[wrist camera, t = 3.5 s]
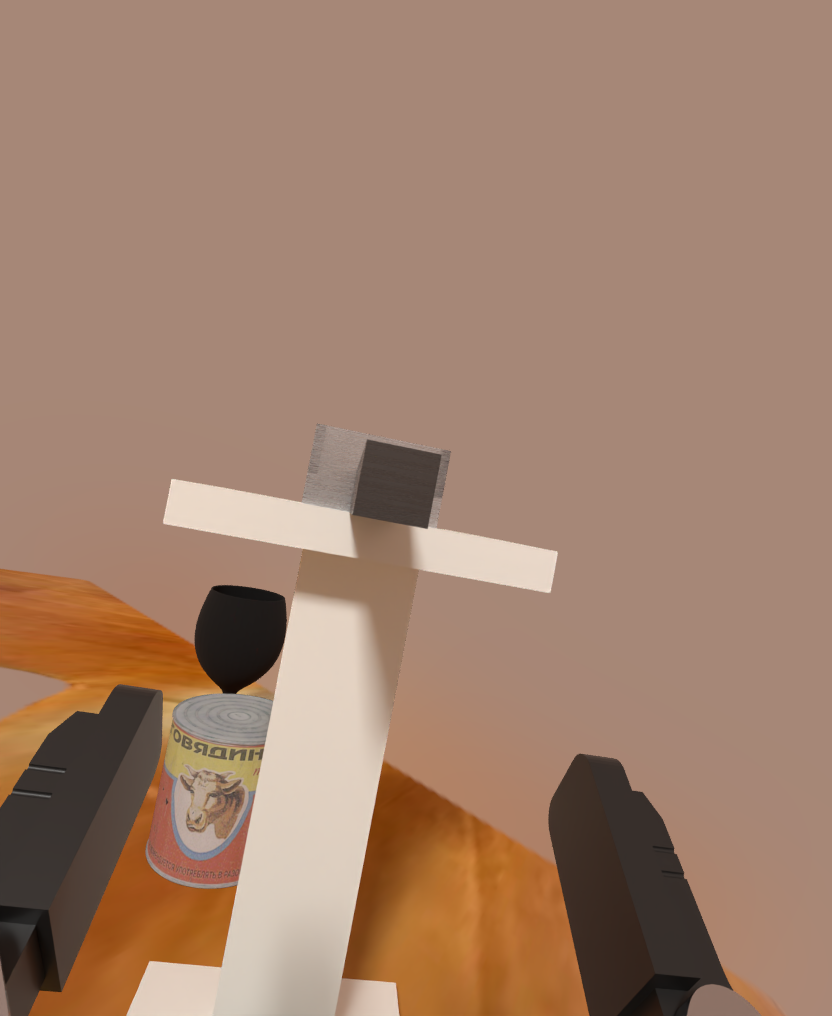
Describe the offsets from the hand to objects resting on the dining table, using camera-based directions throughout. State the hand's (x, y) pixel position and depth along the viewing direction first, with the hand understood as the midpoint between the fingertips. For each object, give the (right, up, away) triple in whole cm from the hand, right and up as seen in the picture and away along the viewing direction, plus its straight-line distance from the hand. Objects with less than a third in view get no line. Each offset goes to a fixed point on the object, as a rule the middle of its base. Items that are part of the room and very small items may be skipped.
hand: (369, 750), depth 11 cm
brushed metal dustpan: (-1, +4, +15) cm, 16 cm away
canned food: (-17, -26, +41) cm, 51 cm away
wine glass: (-23, -25, +58) cm, 67 cm away
